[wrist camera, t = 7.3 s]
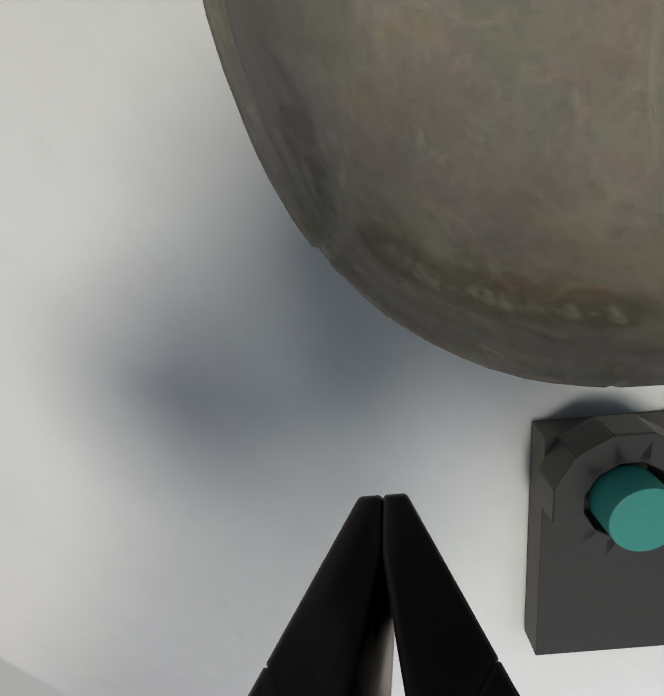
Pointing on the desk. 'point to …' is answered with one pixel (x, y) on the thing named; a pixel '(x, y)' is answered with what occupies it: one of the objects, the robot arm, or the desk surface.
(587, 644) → the scale
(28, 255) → the desk surface
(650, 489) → the button
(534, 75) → the bowl
